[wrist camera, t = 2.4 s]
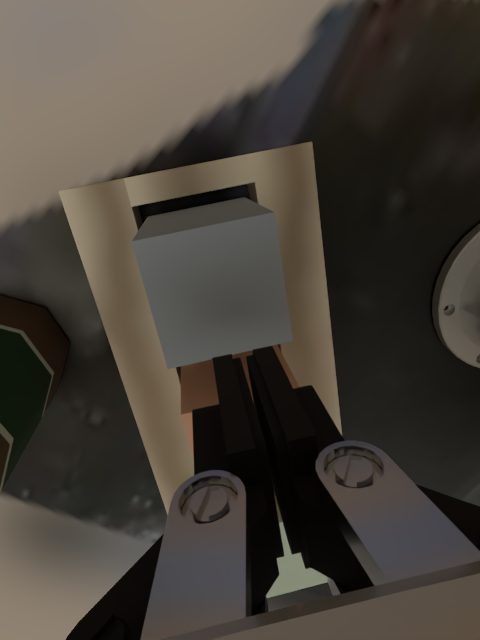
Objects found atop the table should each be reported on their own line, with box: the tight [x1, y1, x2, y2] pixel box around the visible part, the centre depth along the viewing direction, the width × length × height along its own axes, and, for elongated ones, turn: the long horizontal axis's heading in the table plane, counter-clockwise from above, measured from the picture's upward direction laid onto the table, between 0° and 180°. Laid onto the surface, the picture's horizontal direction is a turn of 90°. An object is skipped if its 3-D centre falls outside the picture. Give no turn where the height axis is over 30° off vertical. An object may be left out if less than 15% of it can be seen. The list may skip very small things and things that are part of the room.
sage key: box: [266, 493, 328, 598], centre depth 26 cm, size 6×6×8 cm
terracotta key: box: [181, 345, 299, 460], centre depth 23 cm, size 6×6×8 cm
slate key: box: [131, 197, 293, 369], centre depth 20 cm, size 6×6×8 cm
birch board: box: [58, 142, 342, 514], centre depth 28 cm, size 14×26×3 cm, turn 10°
